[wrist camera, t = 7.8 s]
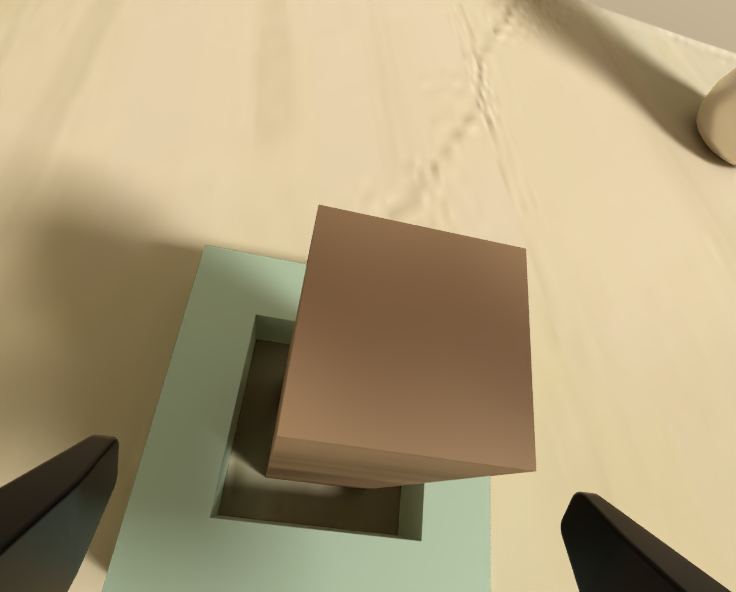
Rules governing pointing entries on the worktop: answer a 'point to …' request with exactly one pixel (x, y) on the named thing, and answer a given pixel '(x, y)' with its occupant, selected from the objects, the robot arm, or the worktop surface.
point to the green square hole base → (211, 458)
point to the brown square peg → (405, 359)
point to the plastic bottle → (720, 118)
